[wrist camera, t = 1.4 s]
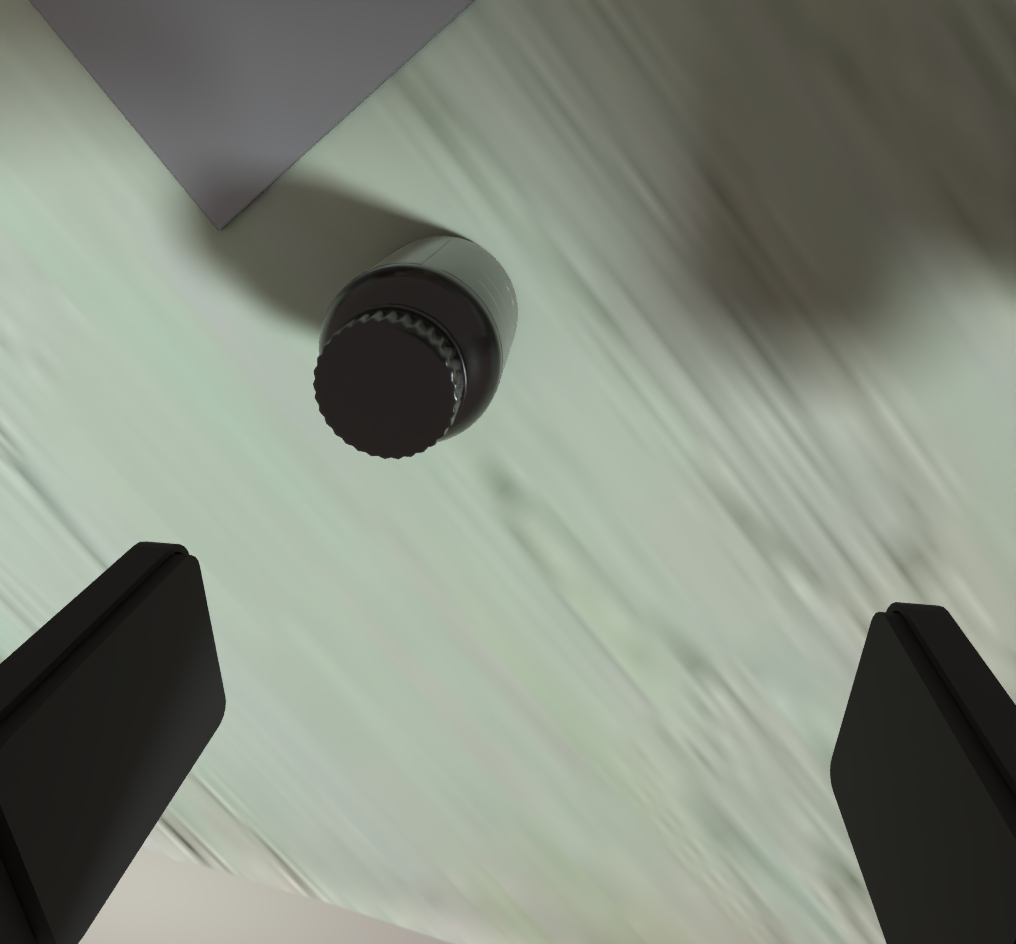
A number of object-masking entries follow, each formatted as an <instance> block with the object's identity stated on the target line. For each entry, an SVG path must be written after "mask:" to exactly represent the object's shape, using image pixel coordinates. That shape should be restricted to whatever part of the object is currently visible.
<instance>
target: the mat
mask: <svg viewBox="0 0 1016 944" xmlns="http://www.w3.org/2000/svg"><path fill="white" fill-rule="evenodd" d="M29 1H30V2H31V3H32V4H33V5H34V7H35V8H36V9H37V10H38V11H39V13H40V14H41V15H42V16H43V18H44V19H45V20H46V21H47V22H48V24H49V25H50V26H51V27H52V29H53V30H54V31H55V32H56V33H57V35H58V36H59V37H60V38H61V39H62V41H63V42H64V43H65V44H66V46H67V47H68V48H69V49H70V50H71V52H72V53H73V54H74V55H75V57H76V58H77V59H78V60H79V61H80V63H81V64H82V65H83V66H84V67H85V69H86V70H87V71H88V72H89V74H90V75H91V76H92V77H93V78H94V80H95V81H96V82H97V83H98V84H99V86H100V87H101V88H102V89H103V91H104V92H105V93H106V94H107V95H108V97H109V98H110V99H111V100H112V102H113V103H114V104H115V105H116V106H117V108H118V109H119V110H120V111H121V112H122V114H123V115H124V116H125V117H126V119H127V120H128V121H129V122H130V123H131V125H132V126H133V127H134V128H135V130H136V131H137V132H138V133H139V134H140V136H141V137H142V138H143V139H144V140H145V142H146V143H147V144H148V145H149V147H150V148H151V149H152V150H153V151H154V153H155V154H156V155H157V156H158V158H159V159H160V160H161V161H162V162H163V164H164V165H165V166H166V167H167V168H168V170H169V171H170V172H171V173H172V175H173V176H174V177H175V178H176V179H177V181H178V182H179V183H180V184H181V185H182V187H183V188H184V189H185V190H186V192H187V193H188V194H189V195H190V196H191V198H192V199H193V200H194V201H195V203H196V204H197V205H198V206H199V207H200V209H201V210H202V211H203V212H204V213H205V215H206V216H207V217H208V218H209V220H210V221H211V222H212V223H213V224H214V226H215V227H216V228H217V229H218V230H221V229H222V228H224V227H225V226H226V225H227V224H228V223H229V222H230V221H231V220H232V219H233V218H235V217H236V216H237V215H238V214H239V213H240V212H241V211H242V210H243V209H245V208H246V207H247V206H248V205H249V204H250V203H251V202H252V201H253V200H254V199H256V198H257V197H258V196H259V195H260V194H261V193H262V192H263V191H264V190H266V189H267V188H268V187H269V186H270V185H271V184H272V183H273V182H274V181H275V180H277V179H278V178H279V177H280V176H281V175H282V174H283V173H284V172H285V171H287V170H288V169H289V168H290V167H291V166H292V165H293V164H294V163H295V162H296V161H298V160H299V159H300V158H301V157H302V156H303V155H304V154H305V153H306V152H308V151H309V150H310V149H311V148H312V147H313V146H314V145H315V144H316V143H317V142H319V141H320V140H321V139H322V138H323V137H324V136H325V135H326V134H327V133H328V132H330V131H331V130H332V129H333V128H334V127H335V126H336V125H337V124H338V123H340V122H341V121H342V120H343V119H344V118H345V117H346V116H347V115H348V114H349V113H351V112H352V111H353V110H354V109H355V108H356V107H357V106H358V105H359V104H361V103H362V102H363V101H364V100H365V99H366V98H367V97H368V96H369V95H370V94H372V93H373V92H374V91H375V90H376V89H377V88H378V87H379V86H380V85H382V84H383V83H384V82H385V81H386V80H387V79H388V78H389V77H390V76H391V75H393V74H394V73H395V72H396V71H397V70H398V69H399V68H400V67H401V66H403V65H404V64H405V63H406V62H407V61H408V60H409V59H410V58H411V57H412V56H414V55H415V54H416V53H417V52H418V51H419V50H420V49H421V48H422V47H424V46H425V45H426V44H427V43H428V42H429V41H430V40H431V39H432V38H433V37H435V36H436V35H437V34H438V33H439V32H440V31H441V30H442V29H443V28H444V27H446V26H447V25H448V24H449V23H450V22H451V21H452V20H453V19H454V18H456V17H457V16H458V15H459V14H460V13H461V12H462V11H463V10H464V9H465V8H467V7H468V6H469V5H470V4H471V3H472V2H473V1H474V0H29Z"/></svg>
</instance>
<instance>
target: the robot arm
mask: <svg viewBox="0 0 1016 944" xmlns="http://www.w3.org/2000/svg"><path fill="white" fill-rule="evenodd" d="M225 705H226V699H225V693H224V688H223V682H222V677H221V672H220V667H219V662H218V657H217V652H216V647H215V641H214V636H213V631H212V626H211V621H210V616H209V611H208V606H207V601H206V595H205V590H204V585H203V580H202V575H201V570H200V565H199V562H198V560H197V558H196V557H194V556H192V555H189V553H188V551H187V549H186V548H185V547H184V546H182V545H180V544H169V543H157V542H139V543H137V544H136V545H134V546H133V547H132V548H131V549H130V550H129V551H127V552H126V553H125V554H124V555H123V556H122V557H121V558H119V559H118V560H117V561H116V562H115V563H114V564H113V565H112V566H110V567H109V568H108V569H107V570H106V571H105V572H104V573H103V574H101V575H100V576H99V577H98V578H97V579H96V580H95V581H93V582H92V583H91V584H90V585H89V586H88V587H87V588H86V589H84V590H83V591H82V592H81V593H80V594H79V595H78V596H77V597H75V598H74V599H73V600H72V601H71V602H70V603H69V604H67V605H66V606H65V607H64V608H63V609H62V610H61V611H60V612H58V613H57V614H56V615H55V616H54V617H53V618H52V619H51V620H49V621H48V622H47V623H46V624H45V625H44V626H43V627H41V628H40V629H39V630H38V631H37V632H36V633H35V634H34V635H32V636H31V637H30V638H29V639H28V640H27V641H26V642H25V643H23V644H22V645H21V646H20V647H19V648H18V649H17V650H16V651H14V652H13V653H12V654H11V655H10V656H9V657H8V658H6V659H5V660H4V661H3V662H2V663H1V664H0V944H78V943H79V941H80V940H81V939H82V938H83V936H84V935H85V933H86V931H87V930H88V928H89V927H90V925H91V924H92V922H93V921H94V919H95V917H96V916H97V914H98V913H99V911H100V910H101V908H102V907H103V905H104V904H105V902H106V900H107V899H108V897H109V896H110V894H111V893H112V891H113V890H114V888H115V886H116V885H117V883H118V882H119V880H120V878H121V877H122V876H123V874H124V873H125V871H126V869H127V868H128V866H129V865H130V863H131V862H132V860H133V859H134V857H135V855H136V854H137V852H138V851H139V849H140V848H141V846H142V845H143V843H144V841H145V840H146V838H147V837H148V835H149V834H150V832H151V831H152V829H153V828H154V826H155V824H156V823H157V821H158V820H159V818H160V817H161V815H162V814H163V812H164V810H165V809H166V807H167V806H168V804H169V803H170V801H171V800H172V798H173V796H174V795H175V793H176V792H177V790H178V789H179V787H180V786H181V784H182V783H183V781H184V779H185V778H186V776H187V775H188V773H189V772H190V770H191V769H192V767H193V765H194V764H195V762H196V761H197V759H198V758H199V756H200V755H201V753H202V751H203V750H204V748H205V747H206V745H207V744H208V742H209V741H210V739H211V738H212V736H213V734H214V733H215V731H216V730H217V728H218V727H219V725H220V723H221V721H222V718H223V716H224V712H225ZM830 777H831V784H832V788H833V792H834V795H835V798H836V800H837V803H838V806H839V809H840V812H841V815H842V818H843V820H844V823H845V826H846V829H847V832H848V835H849V838H850V840H851V843H852V846H853V849H854V852H855V855H856V858H857V860H858V863H859V866H860V869H861V872H862V875H863V877H864V880H865V883H866V886H867V889H868V892H869V895H870V897H871V900H872V903H873V906H874V909H875V912H876V915H877V917H878V920H879V923H880V926H881V929H882V932H883V935H884V937H885V940H886V943H887V944H1016V705H1015V704H1014V702H1013V701H1012V699H1011V698H1010V697H1009V695H1008V694H1007V692H1006V691H1005V690H1004V688H1003V687H1002V686H1001V684H1000V683H999V681H998V680H997V679H996V677H995V676H994V674H993V673H992V672H991V670H990V669H989V667H988V666H987V665H986V663H985V662H984V661H983V659H982V658H981V656H980V655H979V654H978V652H977V651H976V649H975V648H974V647H973V645H972V644H971V643H970V641H969V640H968V638H967V637H966V636H965V634H964V633H963V631H962V630H961V629H960V627H959V626H958V624H957V623H956V622H955V620H954V619H953V618H952V616H951V615H950V613H949V612H948V611H947V610H946V609H945V608H944V607H941V606H936V605H924V604H911V603H899V602H895V603H893V604H891V605H890V606H889V607H888V609H887V611H886V612H878V613H876V614H875V615H874V616H873V618H872V621H871V624H870V628H869V631H868V634H867V638H866V641H865V645H864V648H863V652H862V655H861V659H860V662H859V666H858V669H857V673H856V676H855V680H854V683H853V686H852V690H851V693H850V697H849V700H848V704H847V707H846V711H845V714H844V718H843V721H842V725H841V728H840V732H839V735H838V738H837V742H836V745H835V749H834V752H833V756H832V760H831V766H830Z"/></svg>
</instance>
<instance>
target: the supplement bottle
mask: <svg viewBox="0 0 1016 944" xmlns="http://www.w3.org/2000/svg"><path fill="white" fill-rule="evenodd" d="M517 315H518V310H517V300H516V295H515V291H514V288H513V285H512V283H511V281H510V279H509V277H508V275H507V273H506V272H505V270H504V269H503V267H502V266H501V264H500V263H499V262H498V261H497V260H496V259H495V258H494V257H493V256H492V255H491V254H490V253H489V252H487V251H486V250H485V249H483V248H482V247H480V246H478V245H477V244H475V243H472V242H470V241H468V240H465V239H462V238H458V237H453V236H430V237H425V238H421V239H418V240H415V241H413V242H411V243H409V244H407V245H405V246H403V247H401V248H400V249H398V250H397V251H395V252H394V253H392V254H391V255H389V256H388V257H386V258H385V259H383V260H382V261H380V262H379V263H377V264H376V265H374V266H373V267H371V268H369V269H368V270H366V271H365V272H363V273H362V274H361V275H359V276H358V277H356V278H355V279H353V280H352V281H351V282H350V283H349V284H347V285H346V286H345V287H344V288H343V289H342V290H341V292H340V293H339V294H338V295H337V296H336V298H335V299H334V300H333V302H332V303H331V305H330V307H329V308H328V311H327V313H326V315H325V317H324V320H323V323H322V327H321V332H320V338H319V356H318V358H317V366H316V368H315V370H314V375H315V380H314V383H313V386H314V389H315V391H316V394H315V399H316V401H317V402H318V404H319V411H320V413H321V414H322V415H323V416H324V417H325V421H326V424H327V425H329V426H330V427H331V428H332V429H333V431H334V433H335V434H336V435H337V436H339V437H341V438H342V439H343V440H344V442H345V443H346V444H349V445H352V446H354V447H355V448H356V449H357V450H358V451H362V452H366V453H368V454H369V455H370V456H380V457H381V458H384V459H386V458H391V457H392V458H395V459H400V458H402V457H403V456H406V457H412V456H413V455H414V454H415V453H421V452H424V451H425V450H426V449H427V448H428V447H431V446H433V445H435V444H436V443H437V442H440V441H444V440H447V439H449V438H452V437H454V436H456V435H458V434H460V433H461V432H463V431H464V430H466V429H467V428H469V427H470V426H471V425H472V424H474V423H475V422H476V421H477V420H478V419H479V418H480V417H481V416H482V414H483V413H484V412H485V410H486V409H487V407H488V406H489V404H490V402H491V401H492V399H493V397H494V395H495V393H496V390H497V388H498V385H499V382H500V379H501V376H502V373H503V370H504V367H505V364H506V360H507V357H508V354H509V351H510V348H511V345H512V342H513V339H514V335H515V331H516V326H517Z"/></svg>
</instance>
